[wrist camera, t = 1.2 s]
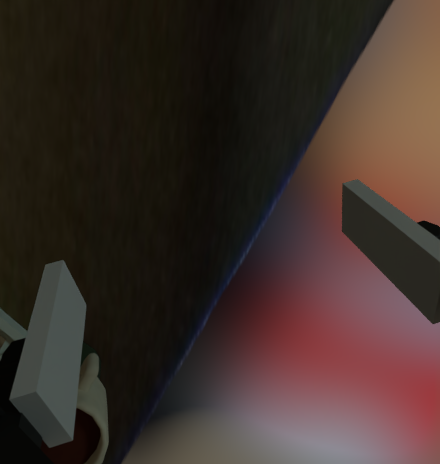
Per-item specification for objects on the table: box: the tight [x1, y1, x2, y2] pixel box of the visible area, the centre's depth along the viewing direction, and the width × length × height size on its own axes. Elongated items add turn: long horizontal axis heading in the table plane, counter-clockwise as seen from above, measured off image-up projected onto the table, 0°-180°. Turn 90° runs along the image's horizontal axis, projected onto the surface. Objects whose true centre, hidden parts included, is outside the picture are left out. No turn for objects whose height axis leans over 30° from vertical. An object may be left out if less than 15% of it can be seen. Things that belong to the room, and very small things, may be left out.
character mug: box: [41, 342, 109, 464], centre depth 33 cm, size 11×7×13 cm, turn 150°
